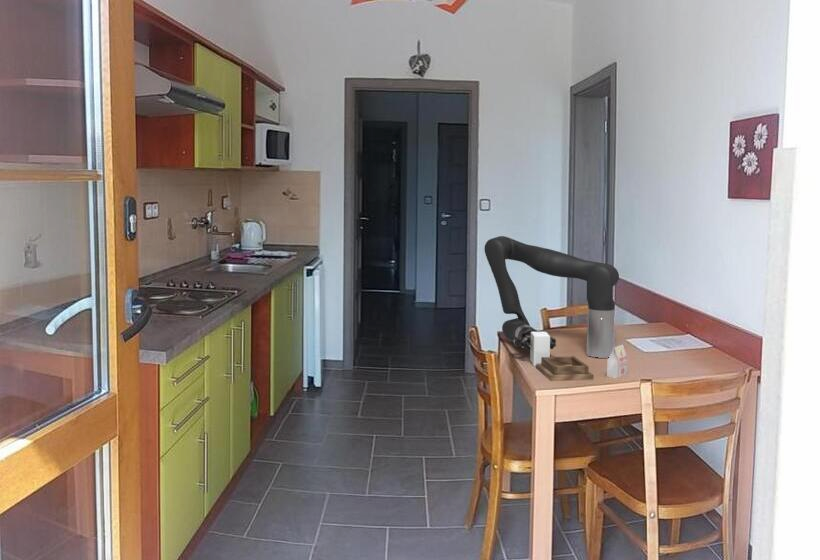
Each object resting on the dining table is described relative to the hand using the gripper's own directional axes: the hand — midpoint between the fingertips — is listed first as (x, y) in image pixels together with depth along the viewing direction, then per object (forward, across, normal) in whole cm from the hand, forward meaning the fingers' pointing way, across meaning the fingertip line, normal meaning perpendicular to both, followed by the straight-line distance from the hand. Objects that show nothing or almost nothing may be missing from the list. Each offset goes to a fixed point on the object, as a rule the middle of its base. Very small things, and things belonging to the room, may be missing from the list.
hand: (540, 346), depth 251 cm
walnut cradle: (+14, +4, +6) cm, 16 cm away
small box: (0, 0, +6) cm, 6 cm away
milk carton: (+19, +20, +6) cm, 28 cm away
